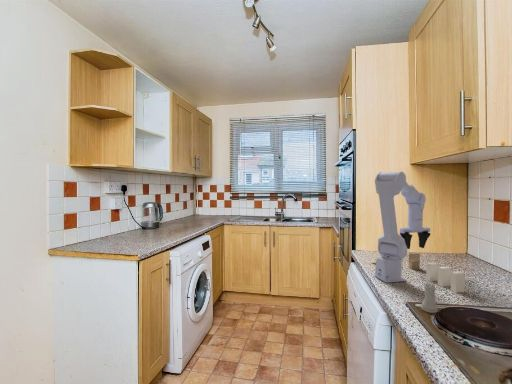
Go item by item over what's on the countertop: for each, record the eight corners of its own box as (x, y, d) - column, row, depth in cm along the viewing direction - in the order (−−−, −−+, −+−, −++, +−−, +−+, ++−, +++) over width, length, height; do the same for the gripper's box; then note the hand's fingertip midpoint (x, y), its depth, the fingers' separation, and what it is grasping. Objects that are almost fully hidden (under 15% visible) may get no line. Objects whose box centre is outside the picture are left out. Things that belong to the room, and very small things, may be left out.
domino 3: (450, 285, 104) (451, 268, 103) (442, 286, 103) (442, 268, 103) (446, 283, 106) (446, 266, 105) (437, 284, 105) (438, 267, 105)
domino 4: (464, 291, 98) (465, 272, 98) (455, 292, 98) (456, 273, 97) (459, 289, 100) (460, 271, 100) (450, 290, 99) (451, 271, 99)
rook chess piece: (441, 312, 83) (442, 287, 83) (429, 314, 82) (430, 288, 82) (429, 306, 87) (430, 281, 87) (417, 307, 86) (418, 283, 86)
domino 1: (419, 268, 124) (419, 253, 123) (412, 269, 123) (412, 254, 122) (416, 267, 126) (416, 252, 125) (408, 267, 125) (409, 252, 124)
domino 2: (438, 280, 109) (439, 263, 109) (430, 281, 108) (430, 264, 108) (434, 278, 111) (434, 262, 111) (426, 279, 110) (426, 262, 110)
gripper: (421, 216, 128) (421, 245, 129) (395, 217, 126) (394, 246, 126) (434, 219, 122) (433, 248, 122) (406, 220, 119) (405, 250, 119)
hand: (414, 248), depth 124 cm, fingers open, 7 cm apart
